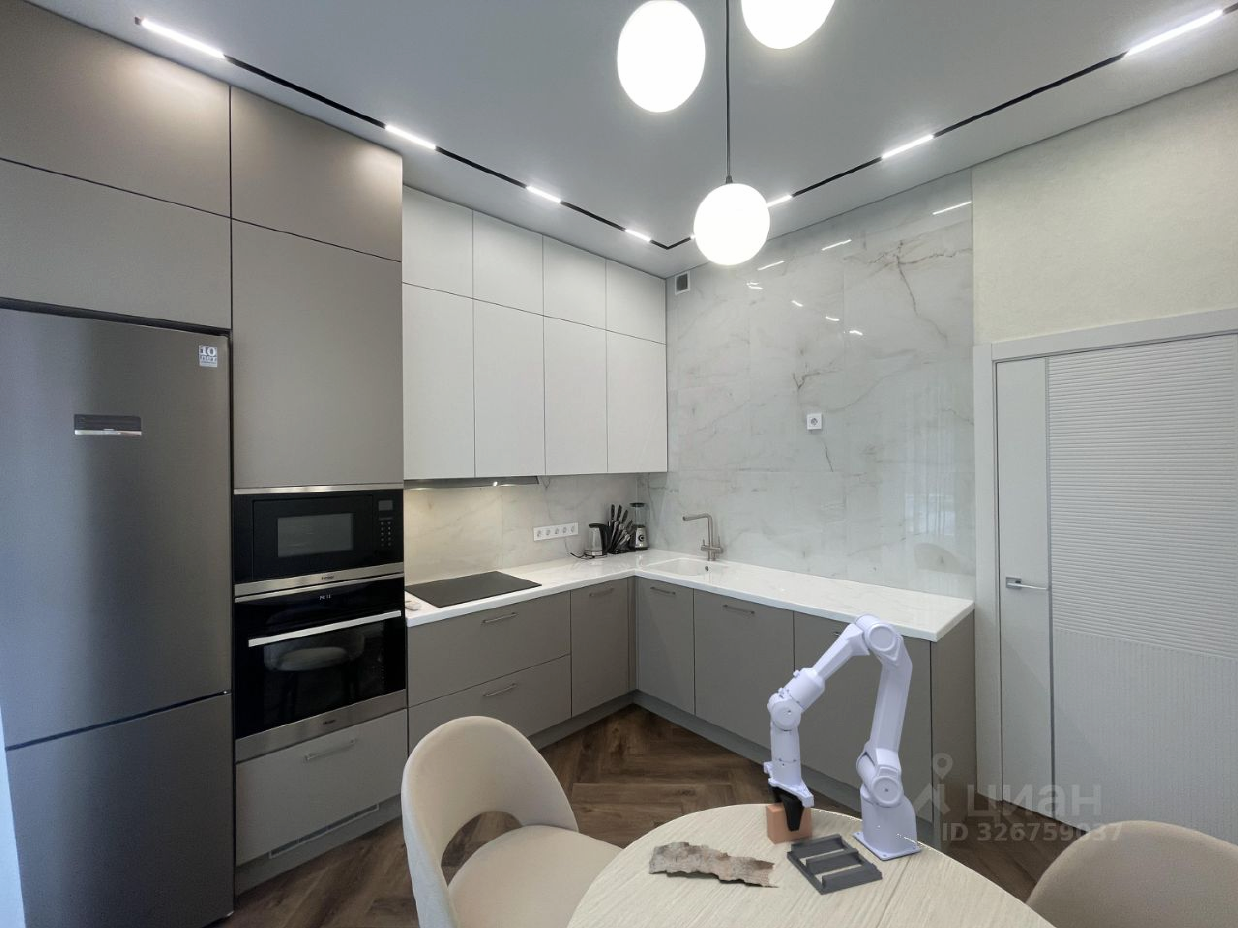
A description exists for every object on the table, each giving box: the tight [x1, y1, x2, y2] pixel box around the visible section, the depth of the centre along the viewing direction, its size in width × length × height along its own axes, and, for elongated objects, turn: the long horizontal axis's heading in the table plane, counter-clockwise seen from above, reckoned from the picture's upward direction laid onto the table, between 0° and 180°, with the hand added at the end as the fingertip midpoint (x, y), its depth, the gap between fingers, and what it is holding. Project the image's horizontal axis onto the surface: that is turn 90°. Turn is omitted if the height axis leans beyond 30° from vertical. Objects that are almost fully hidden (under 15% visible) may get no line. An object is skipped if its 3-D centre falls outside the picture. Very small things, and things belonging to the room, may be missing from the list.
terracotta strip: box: [765, 802, 813, 845], centre depth 102 cm, size 9×2×6 cm, turn 106°
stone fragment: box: [648, 841, 780, 888], centre depth 93 cm, size 25×3×10 cm
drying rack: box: [786, 833, 883, 896], centre depth 92 cm, size 13×10×2 cm
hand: (789, 825), depth 102 cm, fingers closed on terracotta strip, 2 cm apart
